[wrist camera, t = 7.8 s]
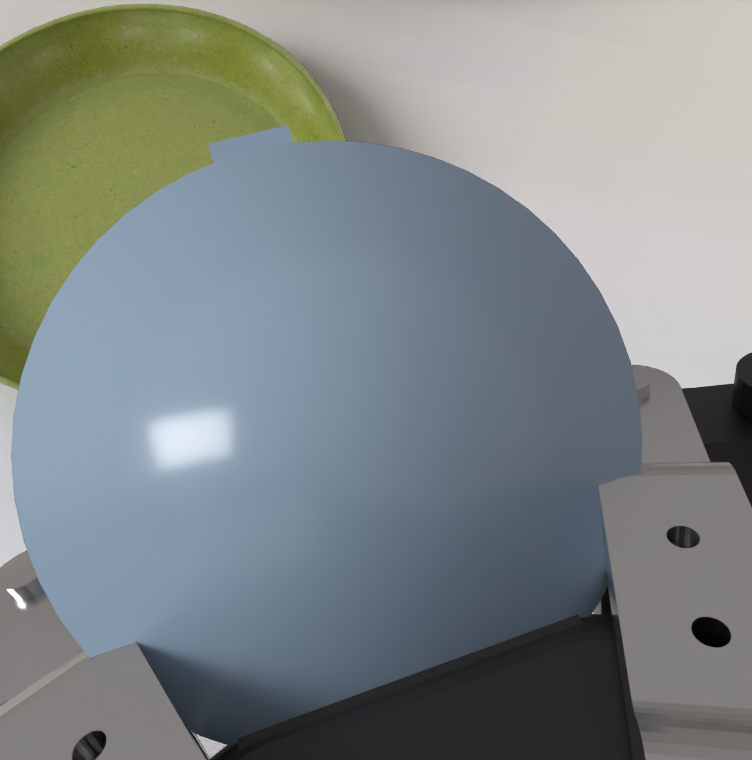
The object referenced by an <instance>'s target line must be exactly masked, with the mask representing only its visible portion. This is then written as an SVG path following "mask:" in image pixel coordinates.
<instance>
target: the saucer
mask: <svg viewBox="0 0 752 760" xmlns="http://www.w3.org/2000/svg"><path fill="white" fill-rule="evenodd" d="M287 125H288V128H289V131H290V135H291V138H292V141H293V143H295V142H311V141H327V140H331V141H346V140H345V136H344V133H343V130H342V127H341V125H340V122H339V120H338V117H337V115H336V113H335V111H334V109H333V107H332V105H331V103H330V101H329V100H328V98H327V96H326V94H325V93H324V91H323V90H322V89H321V87H320V86H319V84H318V83H317V82H316V80H315V79H314V78H313V77H312V75H311V74H310V73H309V72H308V71H307V69H306V68H305V67H304V66H303V65H302V64H300V63H299V62H298V61H297V60H296V59H295V58H294V57H293V56H292V55H291V54H289V53H288V52H287V51H286V50H285V49H283V48H282V47H281V46H280V45H278V44H277V43H275V42H274V41H272V40H271V39H269V38H267V37H266V36H264V35H262V34H261V33H259V32H257V31H255V30H253V29H252V28H250V27H248V26H246V25H244V24H241V23H239V22H237V21H234V20H231V19H228V18H226V17H223V16H219V15H216V14H213V13H209V12H206V11H202V10H198V9H193V8H187V7H182V6H173V5H160V4H125V5H115V6H106V7H101V8H96V9H91V10H86V11H82V12H78V13H74V14H71V15H67V16H64V17H61V18H58V19H55V20H53V21H50V22H48V23H45V24H43V25H40V26H38V27H35V28H33V29H31V30H29V31H27V32H25V33H23V34H21V35H19V36H17V37H15V38H13V39H12V40H10V41H8V42H6V43H5V44H3V45H1V46H0V383H3V384H5V385H7V386H9V387H12V388H14V389H17V390H19V386H20V381H21V376H22V373H23V370H24V367H25V364H26V361H27V358H28V355H29V352H30V349H31V346H32V343H33V340H34V337H35V335H36V333H37V331H38V329H39V327H40V325H41V323H42V321H43V319H44V317H45V315H46V313H47V311H48V309H49V306H50V304H51V302H52V301H53V299H54V298H55V296H56V295H57V293H58V292H59V290H60V288H61V287H62V285H63V284H64V282H65V281H66V279H67V278H68V276H69V275H70V273H71V272H72V270H73V269H74V268H75V266H76V265H77V264H78V263H79V262H80V260H81V259H82V258H83V257H84V256H85V255H86V253H87V252H88V251H89V250H90V249H91V247H92V246H93V245H94V244H95V243H96V242H97V240H98V239H99V238H100V237H102V236H103V235H104V234H105V233H106V232H107V231H108V230H109V229H110V228H111V227H112V226H113V225H114V224H116V223H117V222H118V221H119V220H120V219H121V218H122V217H123V216H124V215H125V214H126V213H128V212H129V211H131V210H132V209H133V208H135V207H136V206H137V205H139V204H140V203H142V202H143V201H144V200H146V199H147V198H148V197H150V196H151V195H152V194H154V193H155V192H157V191H159V190H160V189H162V188H164V187H166V186H167V185H169V184H171V183H173V182H174V181H176V180H178V179H180V178H182V177H183V176H185V175H187V174H189V173H191V172H193V171H196V170H198V169H200V168H203V167H205V166H208V165H210V164H212V163H213V160H212V157H211V153H210V149H209V146H208V144H209V143H213V142H218V141H222V140H226V139H231V138H235V137H239V136H243V135H248V134H252V133H256V132H261V131H265V130H269V129H274V128H278V127H282V126H287Z"/></svg>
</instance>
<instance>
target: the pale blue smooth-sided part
mask: <svg viewBox="0 0 752 760" xmlns="http://www.w3.org/2000/svg"><path fill="white" fill-rule="evenodd" d="M208 146H209V149H210V153H211V157H212V160H213V163H212V164H210V165H208V166H205V167H203V168H200V169H198V170H196V171H193V172H191V173H189V174H187V175H185V176H183V177H182V178H180V179H178V180H176V181H174V182H173V183H171V184H169V185H167V186H166V187H164V188H162V189H160V190H159V191H157V192H155V193H154V194H152V195H151V196H150V197H148V198H147V199H146V200H144V201H143V202H142V203H140V204H139V205H137V206H136V207H135V208H133V209H132V210H131V211H129V212H128V213H126V214H125V215H124V216H123V217H122V218H121V219H120V220H119V221H118V222H117V223H116V224H114V225H113V226H112V227H111V228H110V229H109V230H108V231H107V232H106V233H105V234H104V235H103V236H102V237H100V238H99V239H98V240H97V242H96V243H95V244H94V245H93V246H92V247H91V249H90V250H89V251H88V252H87V253H86V255H85V256H84V257H83V258H82V259H81V260H80V262H79V263H78V264H77V265H76V266H75V268H74V269H73V270H72V272H71V273H70V275H69V276H68V278H67V279H66V281H65V282H64V284H63V285H62V287H61V288H60V290H59V292H58V293H57V295H56V296H55V298H54V299H53V301H52V302H51V304H50V306H49V309H48V311H47V313H46V315H45V317H44V319H43V321H42V323H41V325H40V327H39V329H38V331H37V333H36V335H35V337H34V340H33V343H32V346H31V349H30V352H29V355H28V358H27V361H26V364H25V367H24V370H23V373H22V376H21V381H20V386H19V391H18V396H17V401H16V406H15V411H14V418H13V434H12V451H11V461H12V474H13V487H14V499H15V504H16V508H17V513H18V517H19V522H20V526H21V531H22V535H23V540H24V543H25V546H26V548H27V551H28V554H29V556H30V559H31V561H32V564H33V567H34V569H35V572H36V575H37V577H38V580H39V582H40V584H41V586H42V588H43V590H44V591H45V593H46V595H47V597H48V599H49V600H50V602H51V604H52V606H53V608H54V609H55V611H56V613H57V615H58V617H59V618H60V620H61V622H62V623H63V624H64V625H65V627H66V628H67V629H68V631H69V632H70V633H71V635H72V636H73V637H74V638H75V640H76V641H77V642H78V644H79V645H80V646H81V648H82V649H83V650H84V652H85V653H86V654H87V655H88V657H89V658H91V657H94V656H96V655H99V654H101V653H104V652H107V651H110V650H113V649H116V648H119V647H122V646H125V645H128V644H131V643H134V642H136V643H137V645H138V646H139V648H140V650H141V651H142V653H143V655H144V656H145V658H146V660H147V661H148V663H149V665H150V666H151V668H152V670H153V671H154V673H155V675H156V676H157V678H158V680H159V681H160V683H161V685H162V686H163V688H164V690H165V691H166V693H167V694H168V696H169V698H170V699H171V701H172V703H173V704H174V706H175V708H176V709H177V711H178V713H179V714H180V716H181V718H182V719H183V721H184V723H185V724H186V726H187V728H188V730H190V731H192V732H194V733H196V734H198V735H200V736H202V737H205V738H208V739H211V740H214V741H217V742H220V743H223V744H226V745H229V746H233V745H235V744H237V738H239V737H242V736H245V735H247V734H250V733H253V732H256V731H258V730H261V729H264V728H267V727H269V726H272V725H275V724H278V723H280V722H283V721H286V720H289V719H291V718H294V717H297V716H300V715H302V714H305V713H308V712H311V711H313V710H316V709H319V708H322V707H324V706H327V705H330V704H333V703H335V702H338V701H341V700H344V699H346V698H349V697H352V696H355V695H357V694H360V693H363V692H366V691H368V690H371V689H374V688H377V687H379V686H382V685H385V684H388V683H390V682H393V681H396V680H399V679H401V678H404V677H407V676H410V675H412V674H415V673H418V672H421V671H423V670H426V669H429V668H432V667H434V666H437V665H440V664H443V663H445V662H448V661H451V660H454V659H456V658H459V657H462V656H465V655H467V654H470V653H473V652H476V651H478V650H481V649H484V648H487V647H489V646H492V645H495V644H498V643H500V642H503V641H506V640H509V639H511V638H514V637H517V636H520V635H522V634H525V633H528V632H531V631H533V630H536V629H539V628H542V627H544V626H547V625H550V624H553V623H555V622H558V621H561V620H564V619H566V618H569V617H572V616H575V615H577V614H578V616H579V617H580V618H584V617H590V616H591V614H592V613H593V611H594V610H595V608H596V607H597V605H598V604H599V602H600V601H601V599H602V597H603V595H604V593H605V591H606V589H607V587H608V584H607V577H606V571H605V559H604V547H603V535H602V523H601V511H600V499H599V487H598V486H599V485H602V484H605V483H607V482H610V481H613V480H616V479H619V478H622V477H625V476H629V475H632V474H636V473H639V472H641V458H642V430H641V419H640V408H639V398H638V394H637V389H636V385H635V380H634V376H633V371H632V367H631V362H630V359H629V356H628V354H627V351H626V348H625V345H624V343H623V340H622V337H621V334H620V331H619V329H618V326H617V324H616V322H615V320H614V318H613V316H612V314H611V312H610V310H609V308H608V306H607V304H606V302H605V300H604V298H603V296H602V294H601V293H600V291H599V289H598V288H597V286H596V285H595V283H594V282H593V281H592V279H591V278H590V276H589V275H588V273H587V272H586V270H585V269H584V267H583V266H582V264H581V263H580V261H579V260H578V259H577V258H576V257H575V256H574V254H573V253H572V252H571V251H570V250H569V249H568V248H567V246H566V245H565V244H564V243H563V242H562V241H561V240H560V238H559V237H558V236H557V235H556V234H555V233H554V232H553V231H552V230H551V229H550V228H549V227H548V226H546V225H545V224H544V223H543V222H542V221H541V220H540V219H539V218H538V217H536V216H535V215H534V214H533V213H532V212H531V211H530V210H529V209H527V208H526V207H525V206H523V205H522V204H520V203H519V202H518V201H516V200H515V199H513V198H512V197H510V196H509V195H508V194H506V193H505V192H503V191H502V190H501V189H499V188H497V187H496V186H494V185H492V184H490V183H488V182H487V181H485V180H483V179H481V178H479V177H477V176H476V175H474V174H472V173H470V172H468V171H466V170H464V169H461V168H459V167H456V166H454V165H451V164H449V163H446V162H444V161H442V160H439V159H437V158H434V157H431V156H427V155H423V154H420V153H416V152H413V151H409V150H406V149H402V148H398V147H391V146H385V145H379V144H373V143H367V142H351V141H331V140H327V141H311V142H295V143H293V141H292V138H291V135H290V131H289V128H288V125H287V126H282V127H278V128H274V129H269V130H265V131H261V132H256V133H252V134H248V135H243V136H239V137H235V138H231V139H226V140H222V141H218V142H213V143H209V144H208Z"/></svg>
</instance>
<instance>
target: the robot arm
mask: <svg viewBox="0 0 752 760" xmlns="http://www.w3.org/2000/svg"><path fill="white" fill-rule="evenodd" d="M631 367H632V371H633V376H634V380H635V385H636V389H637V394H638V398H639V408H640V419H641V430H642V458H641V472H639V473H636V474H632V475H629V476H625V477H622V478H619V479H616V480H613V481H610V482H607V483H605V484H602V485H599V486H598V487H599V499H600V511H601V523H602V535H603V547H604V559H605V571H606V577H607V584H608V587H607V589H606V591H605V593H604V595H603V597H602V599H601V601H600V602H599V604H598V605H597V607H596V608H595V610H594V611H593V613H594V614H591V616H590V617H584V618H580V617H579V616H578V614H577V615H575V616H572V617H569V618H566V619H564V620H561V621H558V622H555V623H553V624H550V625H547V626H544V627H542V628H539V629H536V630H533V631H531V632H528V633H525V634H522V635H520V636H517V637H514V638H511V639H509V640H506V641H503V642H500V643H498V644H495V645H492V646H489V647H487V648H484V649H481V650H478V651H476V652H473V653H470V654H467V655H465V656H462V657H459V658H456V659H454V660H451V661H448V662H445V663H443V664H440V665H437V666H434V667H432V668H429V669H426V670H423V671H421V672H418V673H415V674H412V675H410V676H407V677H404V678H401V679H399V680H396V681H393V682H390V683H388V684H385V685H382V686H379V687H377V688H374V689H371V690H368V691H366V692H363V693H360V694H357V695H355V696H352V697H349V698H346V699H344V700H341V701H338V702H335V703H333V704H330V705H327V706H324V707H322V708H319V709H316V710H313V711H311V712H308V713H305V714H302V715H300V716H297V717H294V718H291V719H289V720H286V721H283V722H280V723H278V724H275V725H272V726H269V727H267V728H264V729H261V730H258V731H256V732H253V733H250V734H247V735H245V736H242V737H239V738H237V744H235V745H233V746H229V745H227V746H225V747H224V748H223V749H222V750H220V751H219V752H218V753H217V754H215V755H214V756H213V757H212V758H210V757H209V755H208V754H207V752H206V750H205V749H204V747H203V745H202V744H201V742H200V740H199V739H198V737H197V735H196V733H194V732H192V731H190V730H188V728H187V726H186V724H185V723H184V721H183V719H182V718H181V716H180V714H179V713H178V711H177V709H176V708H175V706H174V704H173V703H172V701H171V699H170V698H169V696H168V694H167V693H166V691H165V690H164V688H163V686H162V685H161V683H160V681H159V680H158V678H157V676H156V675H155V673H154V671H153V670H152V668H151V666H150V665H149V663H148V661H147V660H146V658H145V656H144V655H143V653H142V651H141V650H140V648H139V646H138V645H137V643H136V642H134V643H131V644H128V645H125V646H122V647H119V648H116V649H113V650H110V651H107V652H104V653H101V654H99V655H96V656H94V657H91V658H89V657H88V655H87V654H86V653H85V652H84V650H83V649H82V648H81V646H80V645H79V644H78V642H77V641H76V640H75V638H74V637H73V636H72V635H71V633H70V632H69V631H68V629H67V628H66V627H65V625H64V624H63V623H62V622H61V620H60V618H59V617H58V615H57V613H56V611H55V609H54V608H53V606H52V604H51V602H50V600H49V599H48V597H47V595H46V593H45V591H44V590H43V588H42V586H41V584H40V582H39V580H38V577H37V575H36V572H35V569H34V567H33V564H32V561H31V559H30V556H29V554H28V551H27V550H26V551H25V552H23V553H21V554H19V555H17V556H16V557H14V558H13V559H11V560H10V561H8V562H7V563H6V564H4V565H3V566H2V567H1V568H0V760H752V353H749V354H747V355H746V356H744V357H743V358H741V359H740V360H739V362H738V363H737V367H736V373H735V381H734V384H726V385H716V386H707V387H697V388H684V389H681V387H680V385H679V383H678V382H677V381H676V380H675V378H673V377H672V376H671V375H669V374H667V373H665V372H663V371H661V370H658V369H656V368H652V367H648V366H641V365H631Z"/></svg>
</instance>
